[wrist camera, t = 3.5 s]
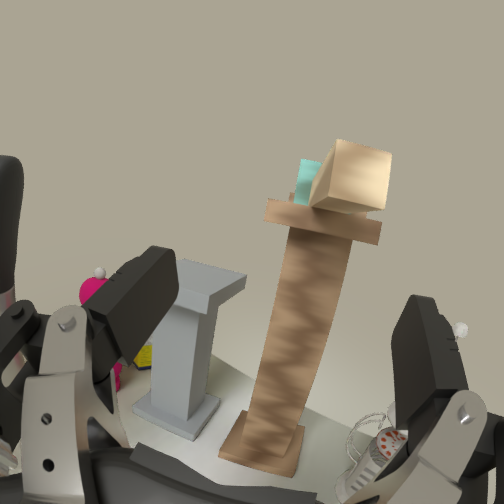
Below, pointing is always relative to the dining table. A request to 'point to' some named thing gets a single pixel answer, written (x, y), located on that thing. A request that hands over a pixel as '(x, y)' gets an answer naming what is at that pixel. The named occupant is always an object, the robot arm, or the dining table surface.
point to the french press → (376, 446)
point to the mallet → (345, 179)
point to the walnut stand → (295, 332)
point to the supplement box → (144, 355)
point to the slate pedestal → (187, 350)
